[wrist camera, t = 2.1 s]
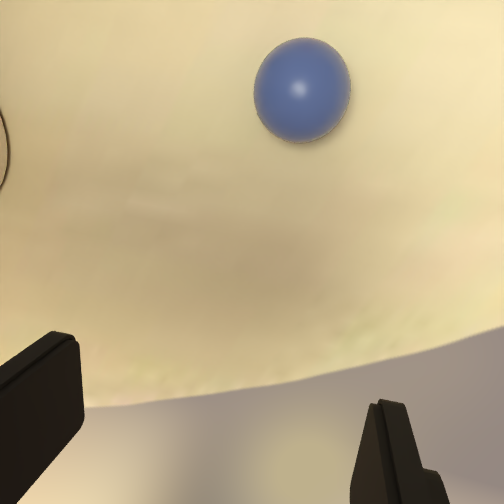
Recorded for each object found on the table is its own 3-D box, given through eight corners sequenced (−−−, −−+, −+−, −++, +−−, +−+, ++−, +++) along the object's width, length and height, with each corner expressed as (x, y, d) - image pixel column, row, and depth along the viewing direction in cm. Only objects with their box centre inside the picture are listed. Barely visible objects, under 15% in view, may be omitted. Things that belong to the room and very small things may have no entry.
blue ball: (296, 159, 25) (287, 165, 19) (245, 93, 24) (223, 81, 19) (365, 102, 23) (376, 92, 18) (313, 29, 22) (308, -4, 17)
